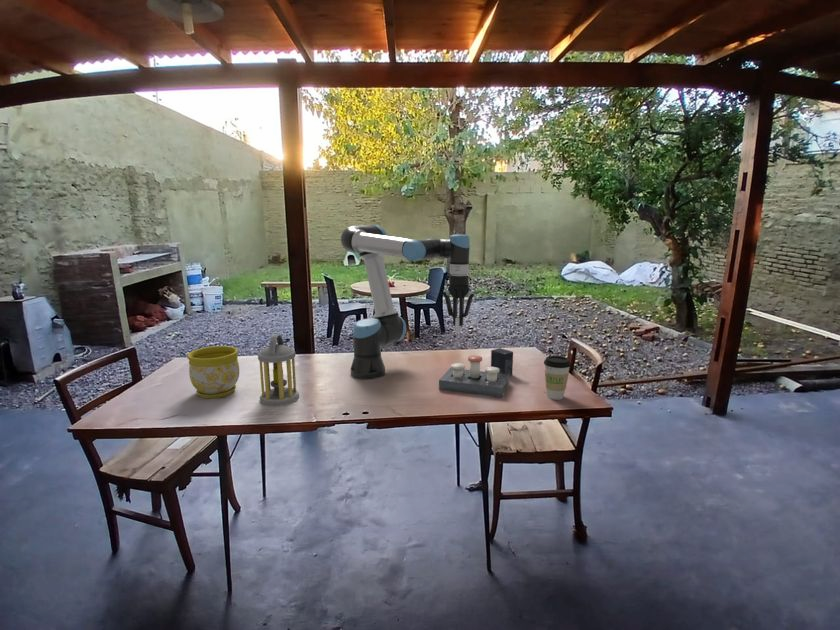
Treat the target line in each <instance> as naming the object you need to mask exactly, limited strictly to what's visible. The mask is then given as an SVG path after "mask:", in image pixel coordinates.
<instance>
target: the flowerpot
mask: <svg viewBox="0 0 840 630" xmlns="http://www.w3.org/2000/svg"><path fill="white" fill-rule="evenodd" d="M238 354H239V349H238V348H236V347H235V346H231V345H229V346H228V345H215V346H214V345H213V346H207V347H201V348H198V349H197V348H196V349H195V350H191V351H190V352H188V354H187V356H186V357H187V360H188V364H189V368H188V369H189V370H188V372H189V379H190V382H191V384H192V386H193V387H194V388H195V389H196V394H197V395H199V396H200V397H201V398H204V399H217V398H223V397H227V396H229V395H231V394H233V392H234V391H235V390H236V388H237V385H236V384H237V383H238V380H239V378H240V363H239V359H238V357H239V356H238Z"/></svg>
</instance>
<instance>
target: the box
mask: <svg viewBox="0 0 840 630" xmlns="http://www.w3.org/2000/svg"><path fill="white" fill-rule="evenodd" d="M490 352H491V353H490V354H491V355H490V356H491V357H490V367H497V368H499V373H501V374H509V377H510V376H513V370H514V369H513V367H514V366H513V365H514V364H513V363H514V351H512V350H508V349H504V348H501V347H499V348H494V349H491V351H490Z"/></svg>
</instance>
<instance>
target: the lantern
mask: <svg viewBox="0 0 840 630" xmlns="http://www.w3.org/2000/svg"><path fill="white" fill-rule="evenodd" d="M295 357H296V351H295V350H294V349H293V348H292V347H291V346H288V345H285V344H284V339H283V337H282V335H281V334H279V333H278V334H275V333H274V334H272V335H271V337H270V340H269V345H268V346H266V347H264V348H262V349H261V350H260V351H259V352H258V354H257V359H258V361H259V371H260V373H259V374H260V385H261V395H260V396H259V402H260V404H263V405H264V406H268V407H270V406H271V407H279V406H280V407H281V406H285V405H290V404H292V403H294V402H296V401H298V400H299V398H300V393H299V391H298V390H297V380H296V379H297V378H296V361H295ZM284 362H285V363H286V375H287V376H286V378H287V380H286V379H284V369H283V363H284ZM291 363H292V364H291ZM270 364H272V366H273V367H272V368H273V369H272V376H273V380H271V376H270ZM285 386H287V387H285ZM271 387H272V388H271Z"/></svg>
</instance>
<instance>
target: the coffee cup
mask: <svg viewBox="0 0 840 630" xmlns="http://www.w3.org/2000/svg"><path fill="white" fill-rule="evenodd" d="M543 364H544V368H545V369H544V373H545V374H544V377H545V388H546V398H548V399H551V400H557V401H559V400H560V401H561V400H563V399H564V397H565V393H566V388H567V384H568V379H569V373H570V372H569V371H570V367H572V363H571V361H570V359H569V358H568V357H565V356H562V355H561V356H560V355H548V356H546V358H545V359H544V361H543Z"/></svg>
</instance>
